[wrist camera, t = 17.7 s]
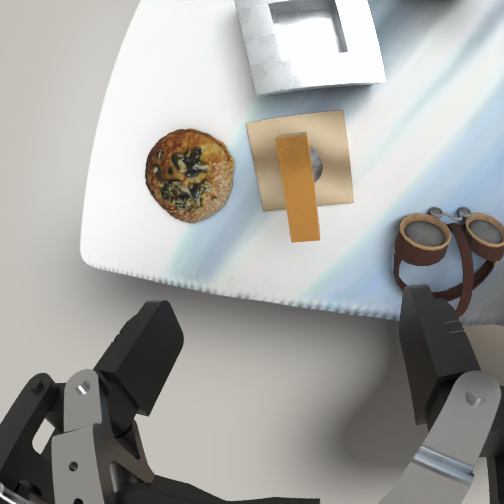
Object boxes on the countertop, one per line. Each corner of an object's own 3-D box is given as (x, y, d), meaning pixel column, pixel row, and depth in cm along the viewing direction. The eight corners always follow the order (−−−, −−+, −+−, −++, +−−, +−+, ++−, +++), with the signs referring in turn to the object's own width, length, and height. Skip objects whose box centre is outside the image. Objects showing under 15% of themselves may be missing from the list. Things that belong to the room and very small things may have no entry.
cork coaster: (352, 200, 31) (353, 202, 30) (264, 209, 33) (263, 211, 33) (342, 110, 26) (343, 110, 26) (247, 122, 29) (246, 123, 28)
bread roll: (136, 145, 32) (118, 154, 28) (222, 114, 30) (215, 117, 26) (168, 225, 37) (155, 243, 33) (250, 202, 36) (247, 219, 31)
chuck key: (316, 123, 27) (320, 133, 18) (326, 196, 31) (331, 239, 22) (277, 127, 28) (262, 140, 19) (289, 200, 32) (280, 243, 23)
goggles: (497, 204, 26) (534, 259, 19) (471, 277, 35) (491, 332, 28) (391, 204, 30) (414, 268, 23) (380, 283, 38) (390, 345, 31)
